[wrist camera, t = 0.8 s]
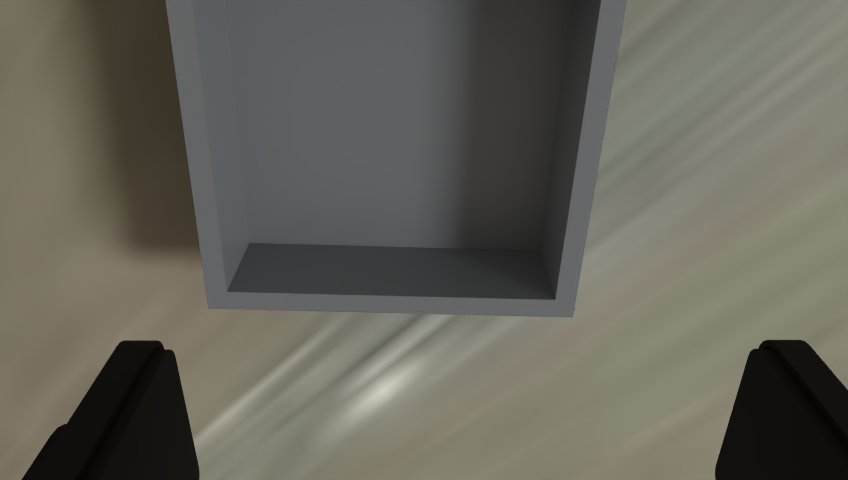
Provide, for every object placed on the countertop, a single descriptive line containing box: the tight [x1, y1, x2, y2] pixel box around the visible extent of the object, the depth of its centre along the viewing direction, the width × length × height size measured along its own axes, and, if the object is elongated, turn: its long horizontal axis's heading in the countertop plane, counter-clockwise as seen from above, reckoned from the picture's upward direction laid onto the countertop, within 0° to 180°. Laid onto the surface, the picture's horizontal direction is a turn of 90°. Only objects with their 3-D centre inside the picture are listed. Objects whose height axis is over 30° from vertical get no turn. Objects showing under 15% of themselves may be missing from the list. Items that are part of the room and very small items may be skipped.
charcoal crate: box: [165, 0, 627, 317], centre depth 32 cm, size 16×18×6 cm
